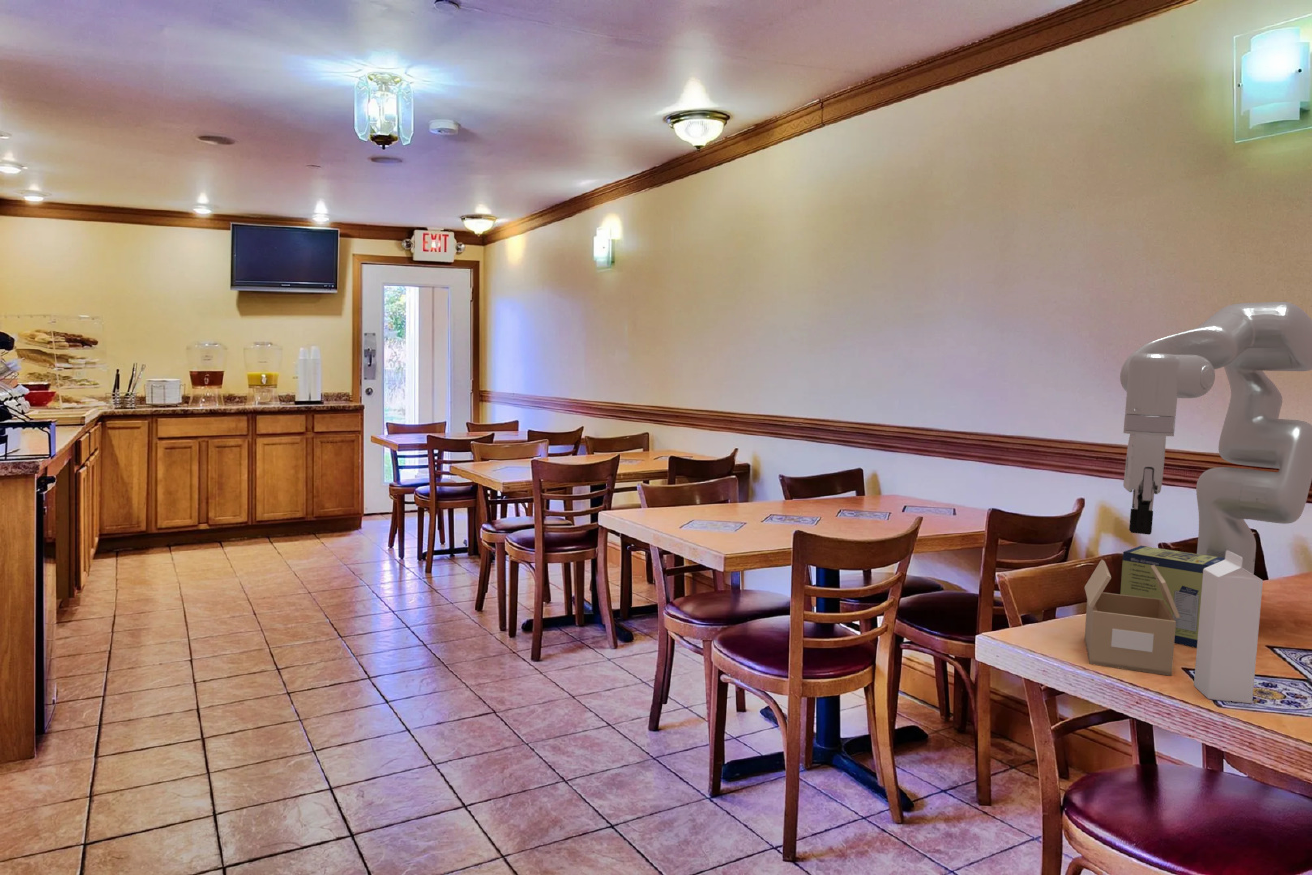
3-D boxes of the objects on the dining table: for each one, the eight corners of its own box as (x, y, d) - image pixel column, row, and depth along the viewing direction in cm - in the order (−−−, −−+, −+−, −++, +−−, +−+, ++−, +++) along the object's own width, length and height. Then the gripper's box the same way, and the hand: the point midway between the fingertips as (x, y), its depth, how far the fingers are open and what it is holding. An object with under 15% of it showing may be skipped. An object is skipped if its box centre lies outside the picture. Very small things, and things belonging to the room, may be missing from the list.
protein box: (1133, 620, 174) (1139, 544, 173) (1223, 639, 163) (1230, 558, 162) (1115, 630, 167) (1121, 550, 166) (1208, 651, 156) (1215, 565, 155)
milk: (1235, 690, 136) (1248, 551, 134) (1252, 704, 130) (1266, 559, 129) (1192, 685, 137) (1204, 548, 136) (1207, 699, 132) (1220, 555, 130)
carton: (1084, 638, 161) (1087, 590, 160) (1158, 648, 156) (1162, 599, 156) (1089, 664, 146) (1093, 611, 146) (1171, 676, 142) (1176, 621, 141)
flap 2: (1163, 597, 155) (1150, 565, 156) (1167, 596, 155) (1154, 564, 155) (1176, 618, 141) (1161, 583, 142) (1180, 617, 141) (1165, 582, 142)
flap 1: (1084, 587, 160) (1101, 559, 159) (1087, 588, 160) (1104, 560, 158) (1089, 606, 146) (1107, 575, 145) (1092, 607, 146) (1111, 577, 145)
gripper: (1120, 423, 156) (1111, 524, 157) (1128, 426, 142) (1119, 537, 144) (1168, 426, 153) (1159, 529, 154) (1181, 429, 139) (1171, 542, 141)
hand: (1140, 532), depth 149 cm, fingers closed
